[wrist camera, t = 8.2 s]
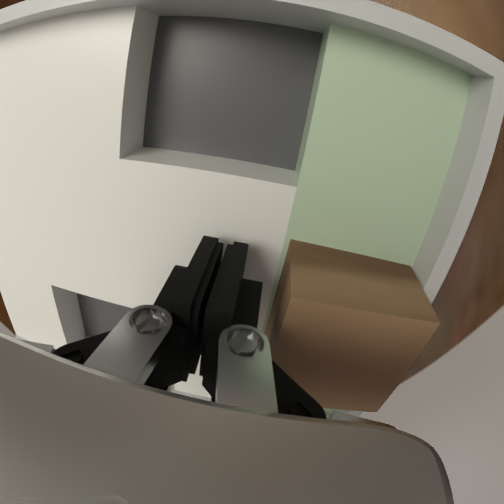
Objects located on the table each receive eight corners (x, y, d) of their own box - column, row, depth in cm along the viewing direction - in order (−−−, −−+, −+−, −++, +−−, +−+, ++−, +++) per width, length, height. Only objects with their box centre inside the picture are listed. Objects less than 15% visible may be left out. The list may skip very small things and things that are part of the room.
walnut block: (290, 239, 12) (291, 296, 9) (410, 265, 12) (440, 323, 9) (263, 336, 14) (256, 398, 11) (364, 352, 14) (376, 411, 11)
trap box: (10, 27, 10) (-44, 29, 6) (457, 66, 10) (512, 68, 6) (36, 320, 20) (8, 355, 16) (334, 390, 20) (338, 441, 16)
